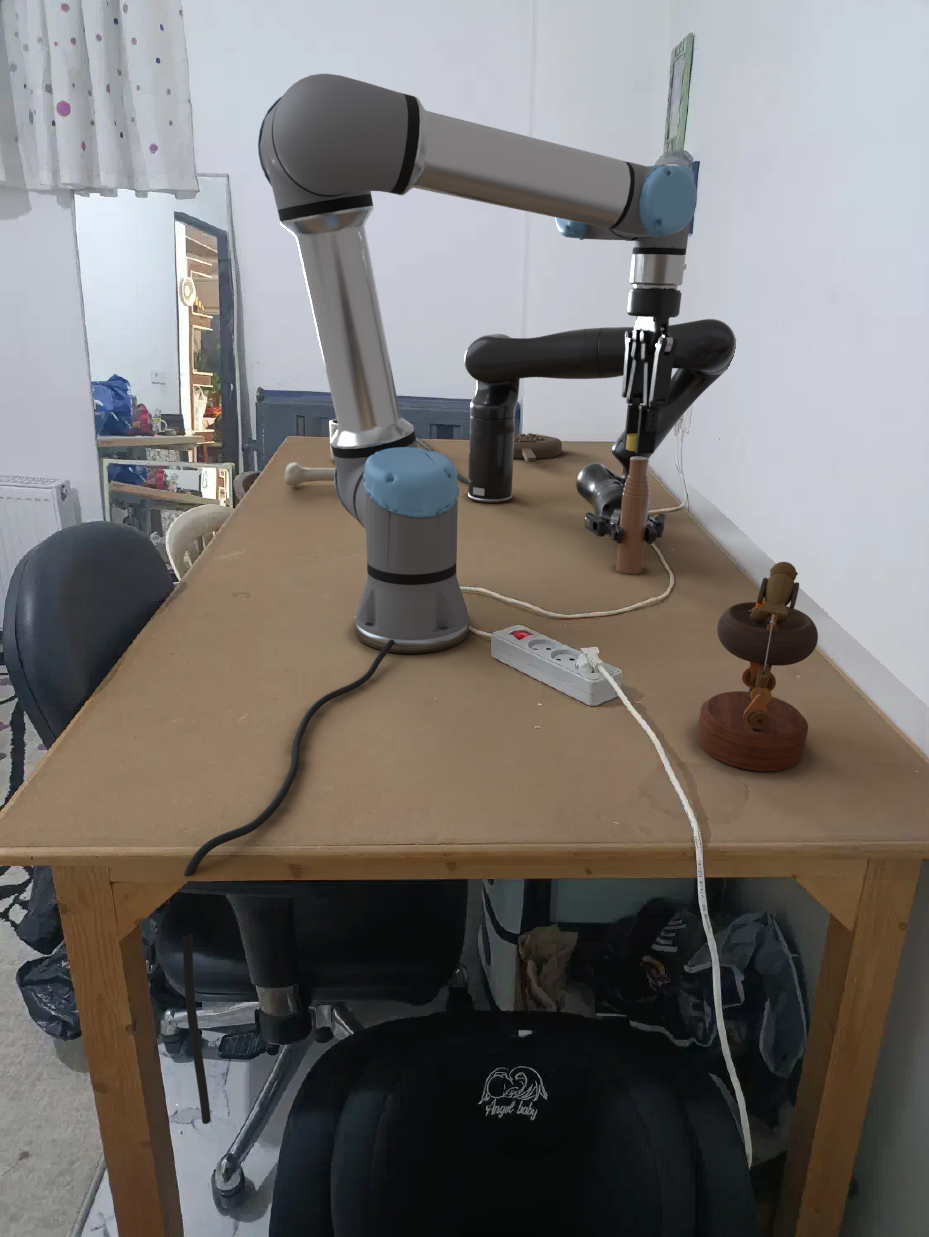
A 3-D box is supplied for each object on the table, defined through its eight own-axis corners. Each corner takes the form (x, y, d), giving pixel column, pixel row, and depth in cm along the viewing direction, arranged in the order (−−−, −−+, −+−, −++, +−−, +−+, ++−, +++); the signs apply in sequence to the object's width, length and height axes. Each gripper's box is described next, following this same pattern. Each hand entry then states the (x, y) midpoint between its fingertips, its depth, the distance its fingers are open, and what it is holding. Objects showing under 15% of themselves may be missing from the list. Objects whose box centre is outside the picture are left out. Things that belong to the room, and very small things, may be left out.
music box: (826, 784, 80) (847, 586, 73) (707, 784, 81) (715, 589, 74) (787, 708, 94) (802, 535, 87) (686, 708, 95) (692, 539, 88)
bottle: (613, 572, 137) (623, 459, 130) (618, 564, 141) (628, 454, 134) (639, 575, 136) (651, 462, 129) (644, 567, 139) (655, 456, 132)
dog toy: (375, 480, 193) (375, 458, 191) (377, 486, 187) (376, 464, 186) (285, 482, 190) (284, 460, 188) (284, 489, 184) (283, 466, 182)
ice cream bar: (489, 468, 207) (489, 450, 206) (481, 446, 233) (482, 430, 232) (574, 468, 208) (575, 451, 207) (557, 446, 234) (558, 431, 233)
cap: (641, 453, 128) (642, 438, 127) (620, 448, 131) (621, 434, 130) (656, 450, 130) (658, 436, 130) (636, 446, 133) (637, 432, 132)
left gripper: (707, 289, 115) (685, 460, 124) (654, 287, 130) (638, 439, 139) (656, 288, 113) (638, 461, 122) (609, 286, 129) (595, 440, 137)
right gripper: (578, 488, 147) (592, 514, 132) (659, 489, 148) (683, 515, 132) (575, 529, 150) (589, 559, 134) (655, 530, 150) (678, 561, 135)
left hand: (638, 449), depth 131 cm, fingers closed on cap, 4 cm apart
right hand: (635, 537), depth 133 cm, fingers closed on bottle, 4 cm apart
